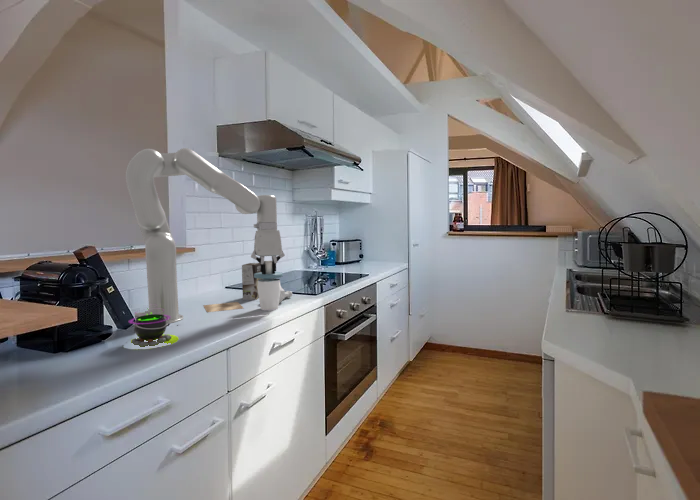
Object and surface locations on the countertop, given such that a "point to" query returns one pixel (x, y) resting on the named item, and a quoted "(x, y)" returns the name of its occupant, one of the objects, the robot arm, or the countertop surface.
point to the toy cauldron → (152, 330)
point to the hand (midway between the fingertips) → (268, 273)
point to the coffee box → (250, 281)
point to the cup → (269, 293)
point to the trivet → (222, 307)
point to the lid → (268, 272)
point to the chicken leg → (284, 294)
